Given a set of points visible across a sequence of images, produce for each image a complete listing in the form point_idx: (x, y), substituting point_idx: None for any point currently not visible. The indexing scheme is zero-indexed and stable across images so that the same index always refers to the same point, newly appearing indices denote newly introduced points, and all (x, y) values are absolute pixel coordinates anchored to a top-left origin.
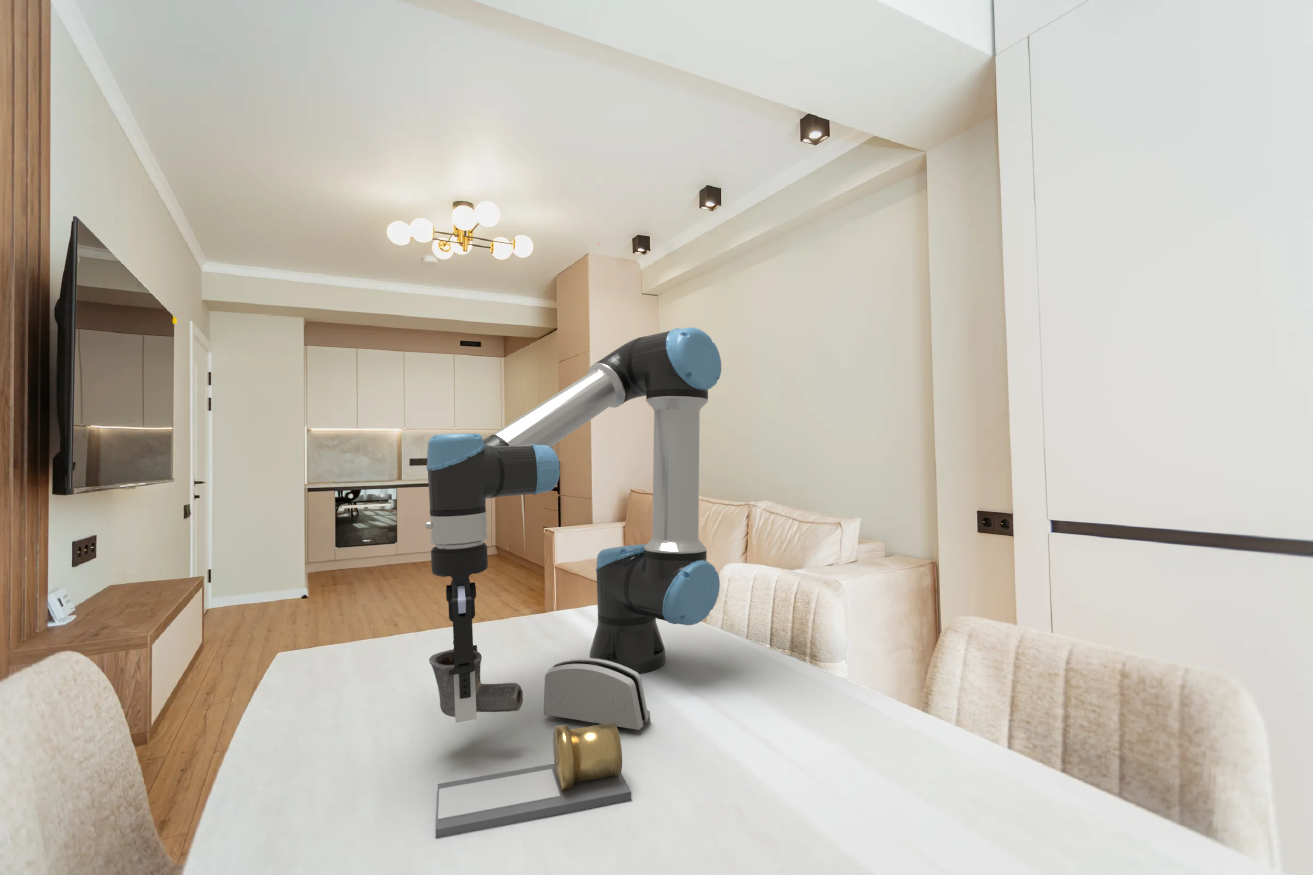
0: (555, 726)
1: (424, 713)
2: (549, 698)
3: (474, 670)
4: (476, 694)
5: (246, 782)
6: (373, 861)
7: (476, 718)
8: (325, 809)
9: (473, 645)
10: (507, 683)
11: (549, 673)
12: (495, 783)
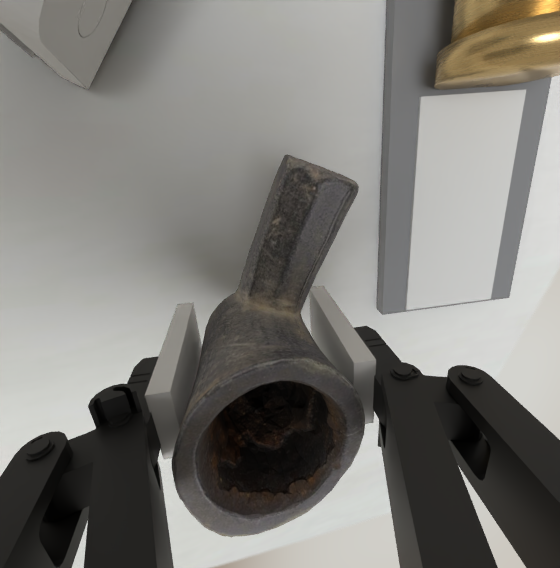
0: (546, 55)
1: (27, 387)
2: (81, 52)
3: (465, 365)
4: (300, 310)
5: (261, 537)
6: (505, 354)
7: (323, 286)
8: (365, 436)
9: (94, 419)
10: (314, 216)
11: (44, 10)
12: (428, 218)
